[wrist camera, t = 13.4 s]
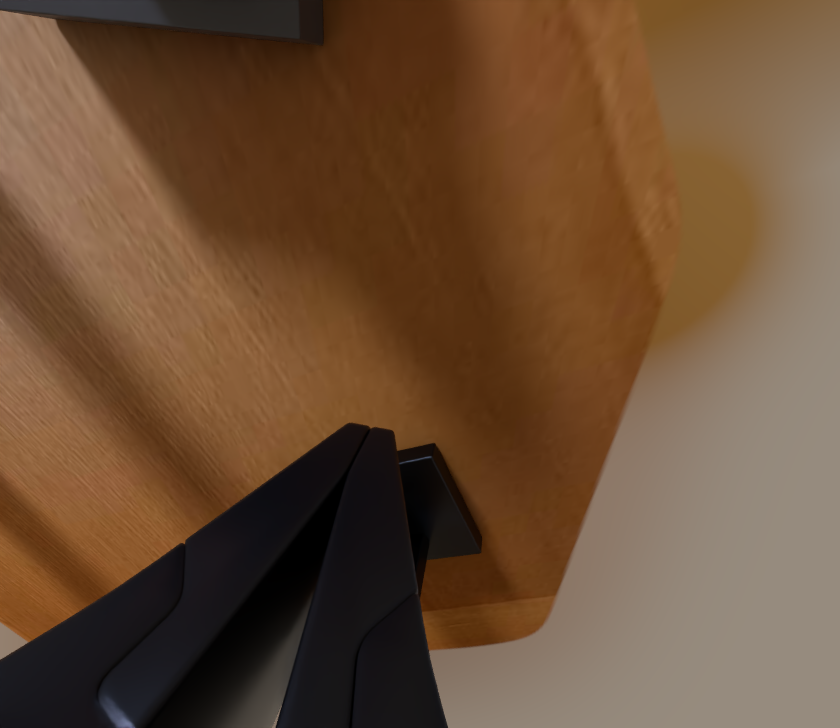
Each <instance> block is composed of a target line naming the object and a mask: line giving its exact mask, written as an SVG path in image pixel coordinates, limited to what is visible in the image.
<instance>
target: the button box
mask: <svg viewBox="0 0 840 728" xmlns="http://www.w3.org/2000/svg"><path fill="white" fill-rule="evenodd" d="M0 10H1V11H8V12H14V13H20V14H26V15H32V16H39V17H45V18H52V19H62V20H72V21H82V22H92V23H102V24H112V25H122V26H132V27H142V28H152V29H162V30H172V31H182V32H192V33H202V34H212V35H222V36H232V37H243V38H253V39H263V40H273V41H283V42H293V43H303V44H313V45H323V0H0Z"/></svg>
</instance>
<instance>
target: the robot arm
mask: <svg viewBox="0 0 840 728" xmlns="http://www.w3.org/2000/svg"><path fill="white" fill-rule="evenodd" d="M282 702H283V703H282ZM281 705H282V707H281ZM280 707H281V710H280V714H279V717H278V721H277V725H276V728H448V726H447V722H446V719H445V715H444V712H443V708H442V704H441V700H440V696H439V693H438V689H437V684H436V681H435V677H434V673H433V669H432V664H431V660H430V655H429V650H428V644H427V639H426V634H425V628H424V623H423V617H422V610H421V604H420V597H419V595H418V586H417V579H416V572H415V566H414V559H413V553H412V546H411V540H410V533H409V526H408V520H407V513H406V507H405V500H404V494H403V487H402V481H401V474H400V467H399V461H398V454H397V448H396V441H395V435H394V432H393V431H392V430H389V429H383V428H378V427H373V428H370V427H369V426H367V425H361V424H356V423H348V424H346V425H344V426H343V427H342V428H340V429H339V430H337V431H336V432H335V433H333V434H332V435H330V436H329V437H328V438H326V439H325V440H324V441H322V442H321V443H319V444H318V445H317V446H315V447H314V448H312V449H311V450H310V451H308V452H307V453H305V454H304V455H303V456H301V457H300V458H299V459H297V460H296V461H294V462H293V463H292V464H290V465H289V466H287V467H286V468H285V469H283V470H282V471H280V472H279V473H278V474H276V475H275V476H274V477H272V478H271V479H269V480H268V481H267V482H265V483H264V484H262V485H261V486H260V487H258V488H257V489H255V490H254V491H253V492H251V493H250V494H248V495H247V496H246V497H244V498H243V499H242V500H240V501H239V502H237V503H236V504H235V505H233V506H232V507H230V508H229V509H228V510H226V511H225V512H223V513H222V514H221V515H219V516H218V517H217V518H215V519H214V520H212V521H211V522H210V523H208V524H207V525H205V526H204V527H203V528H201V529H200V530H198V531H197V532H196V533H194V534H193V535H192V536H190V537H189V538H187V539H186V541H185V544H183V543H180V544H179V545H177V546H176V547H175V548H173V549H172V550H170V551H169V552H168V553H166V554H165V555H163V556H162V557H161V558H159V559H158V560H156V561H155V562H153V563H152V564H151V565H149V566H148V567H146V568H145V569H143V570H142V571H140V572H139V573H138V574H136V575H135V576H133V577H132V578H130V579H129V580H127V581H126V582H124V583H123V584H122V585H120V586H119V587H117V588H115V589H114V590H112V591H111V592H109V593H108V594H106V595H104V596H103V597H101V598H100V599H98V600H97V601H95V602H93V603H92V604H90V605H89V606H87V607H86V608H84V609H82V610H81V611H79V612H78V613H76V614H74V615H73V616H71V617H70V618H68V619H66V620H65V621H63V622H61V623H60V624H58V625H57V626H55V627H53V628H52V629H50V630H48V631H47V632H45V633H43V634H42V635H40V636H39V637H37V638H35V639H34V640H32V641H30V642H29V643H27V644H25V645H24V646H22V647H20V648H19V649H17V650H16V651H14V652H12V653H11V654H9V655H7V656H6V657H4V658H3V659H1V660H0V728H272V726H273V724H274V722H275V719H276V717H277V714H278V712H279V709H280Z"/></svg>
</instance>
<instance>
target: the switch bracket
mask: <svg viewBox="0 0 840 728" xmlns="http://www.w3.org/2000/svg"><path fill="white" fill-rule="evenodd" d="M397 454H398V461H399V467H400V474H401V481H402V487H403V494H404V500H405V507H406V513H407V520H408V526H409V533H410V540H411V546H412V553H413V559H414V566H415V572H416V579H417V586H418V595H419V597H420V595H421V589H422V584H423V578H424V572H425V567H426V561H427V560H430V559H438V558H446V557H455V556H463V555H471V554H479V553H481V547H482V536H481V534H480V532H479V530H478V528H477V526H476V524H475V522H474V520H473V518H472V516H471V514H470V512H469V510H468V508H467V506H466V504H465V502H464V500H463V498H462V496H461V494H460V492H459V490H458V488H457V486H456V484H455V482H454V480H453V478H452V476H451V474H450V472H449V470H448V468H447V466H446V464H445V462H444V460H443V458H442V457H441V455H440V453H439V451H438V449H437V447H436V445H435V443H433V444H428V445H423V446H419V447H414V448H409V449H405V450H400V451H397Z"/></svg>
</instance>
